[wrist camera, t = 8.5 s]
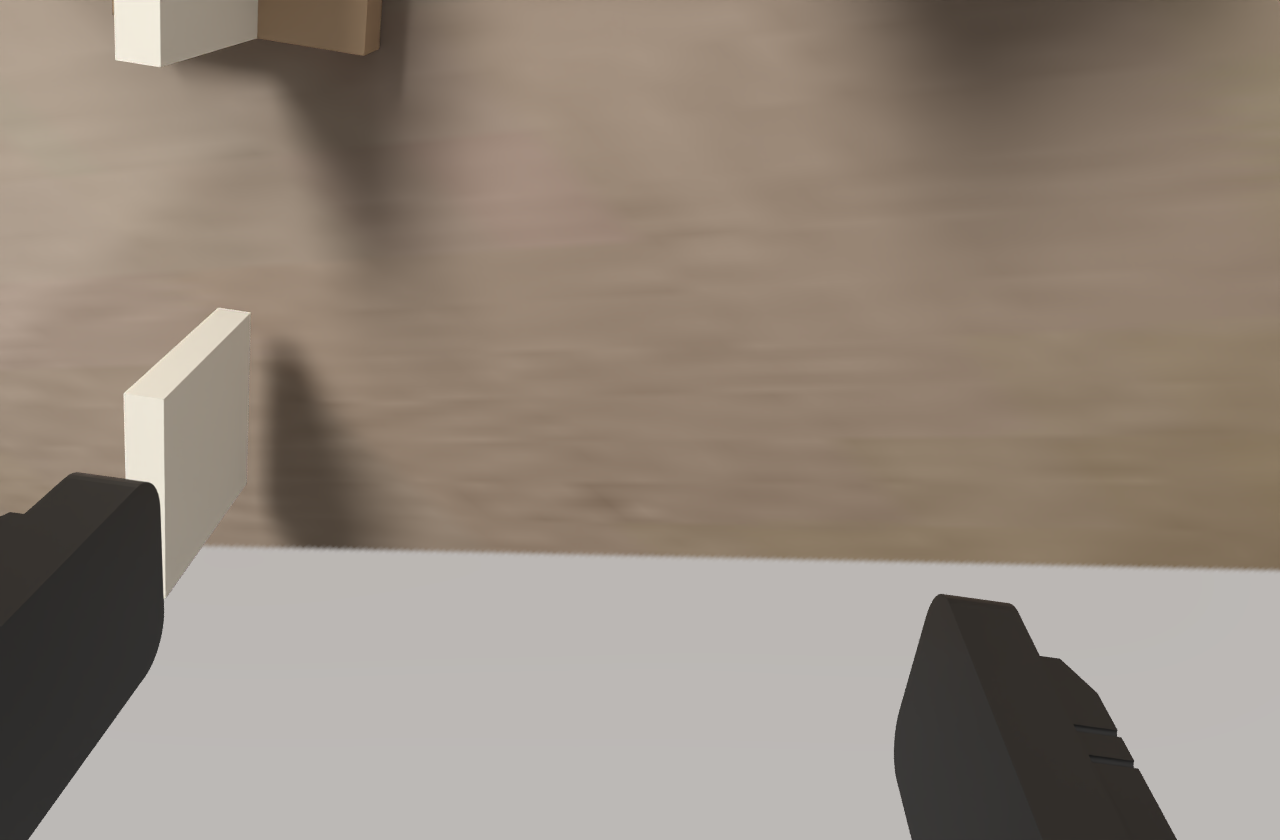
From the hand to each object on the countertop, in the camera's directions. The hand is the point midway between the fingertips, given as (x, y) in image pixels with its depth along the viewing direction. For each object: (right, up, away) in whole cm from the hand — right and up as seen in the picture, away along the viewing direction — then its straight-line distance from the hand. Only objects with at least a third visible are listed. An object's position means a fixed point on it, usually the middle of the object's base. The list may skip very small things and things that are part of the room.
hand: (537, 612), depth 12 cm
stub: (-12, +3, +25) cm, 27 cm away
